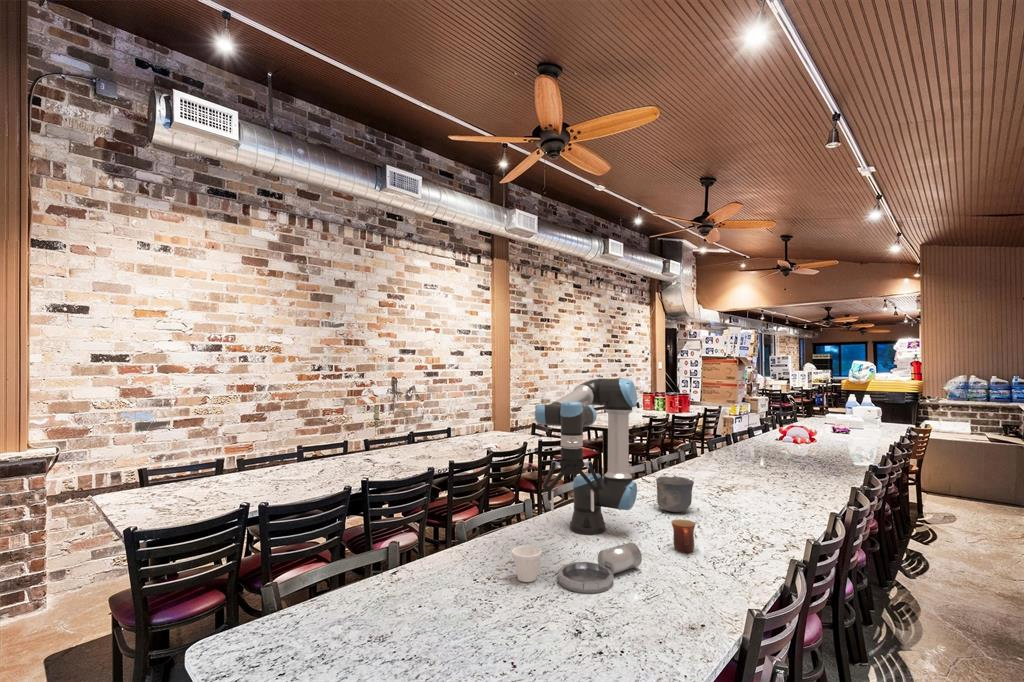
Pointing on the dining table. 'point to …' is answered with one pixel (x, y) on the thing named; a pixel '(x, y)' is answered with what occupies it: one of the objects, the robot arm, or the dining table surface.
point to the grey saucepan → (599, 570)
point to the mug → (683, 535)
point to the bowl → (674, 493)
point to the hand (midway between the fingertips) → (572, 510)
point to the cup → (527, 562)
